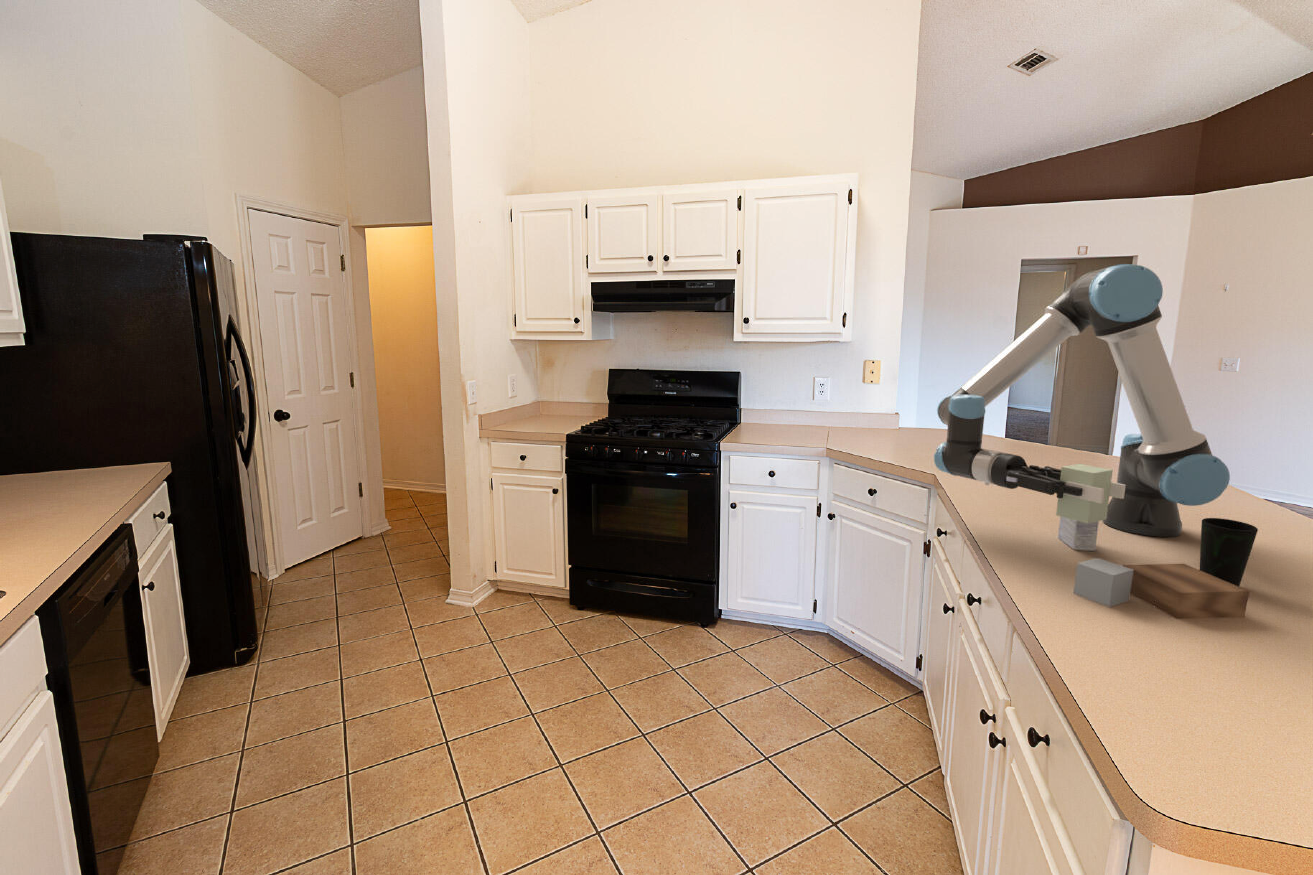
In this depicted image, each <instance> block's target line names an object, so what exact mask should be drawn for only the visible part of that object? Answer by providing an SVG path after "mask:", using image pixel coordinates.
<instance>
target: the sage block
mask: <svg viewBox="0 0 1313 875" xmlns="http://www.w3.org/2000/svg"><path fill="white" fill-rule="evenodd" d="M1060 470H1061V476H1060V481H1063V482H1065V485H1066V482H1067V481H1070V482H1074V483H1079V484H1084V485H1088V486H1093V487H1098V488H1102V489H1104V497H1103V503H1097V502H1093V501H1088V500H1084V499H1080V498H1076V497H1071V496H1067V495H1065V493H1063V498H1057V504H1056V513H1055V515H1056V516H1058V517H1060V516H1061V517H1065V518H1069V519H1072V520H1076V521H1080V522H1084V523H1087V524H1088V523H1092V522H1097V521H1099V522H1100V521H1103V520H1105V519H1106V518H1107V510H1108V505H1109V503H1110V501H1109V500H1110V496H1109V494H1110V486H1111V482H1112V478H1113V477H1112V476H1113V469H1110V468H1104V467H1099V466H1094V465H1088V464H1083V463H1078V464H1071V465H1065V466H1061V469H1060Z"/></svg>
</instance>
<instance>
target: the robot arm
mask: <svg viewBox="0 0 1313 875" xmlns="http://www.w3.org/2000/svg"><path fill="white" fill-rule="evenodd" d="M1163 294H1164V293H1163V284H1162V282H1161V280H1160V277H1159V276H1158V275H1157V273H1155V272H1154V271H1153V270H1151V269H1149V268H1148V267H1145V266H1143V265H1141V264H1140V265H1139V264H1134V263H1133V264H1128V263H1122V264H1116V265H1113V266H1112V265H1111V266H1108V267H1104V268H1100V269H1095V270H1091V271H1088V272H1087V273H1085V274H1083V275H1081V276H1080V277H1078V278H1077V279H1076V280H1075V281H1074V282H1073V283H1071V284H1070V285H1069V286H1068V287H1067V288H1066V289H1065V290H1063V292H1062V293H1061V294H1060V295H1058V296H1057V297H1056V298H1055V299H1054V300H1053V301H1052V302H1051V303H1050V304H1048V305H1047V306H1046V307H1045V309H1044V310H1045V312H1044V314H1043V316H1042V317H1040V318H1039V319H1038V320H1037V321H1036V322H1034V323H1033V324H1032V325H1031V326H1030V327H1029V328H1027V329H1026V331H1024V332H1023V333H1022V334H1021V335H1019V336H1018V337H1017V338H1016V339H1015V340H1013V342H1012V343H1011V344H1009V345H1008V346H1007V347H1006V348H1004V349H1003V351H1001V352H1000V353H999V354H998V355H997V356H995V358H993V359H992V360H991V361H990V362H989V363H987V364H986V365H985V366H984V367H983V368H982V369H980V370H979V371H978V372H977V373H976V374H974V376H973V377H971V378H970V379H969V380H968V381H967V382H966V383H964V384H963V385H962V386H961V387H960V388H959V389H958V390H956V391H955V392H954V393H953V394H952V395H950V396H947V397H943V399H942V400H940V401H939V403H938V405H937V408H936V411H937V415H938V418H939V420H940V421H941V422H942V424H943V425H946V426H947V433H946V442H941V443H940V444H939V445H938V446H937V447H936V451H935V452H934V454H933V462H934V465H935V467H936V468H937V470H939V471H941V472H942V473H943V472H944V473H947V474H950V475H952V476H955V477H961V478H964V479H970V480H974V481H978V482H982V483H984V485H985V486H989V485H993V486H995V485H996V486H997V487H1001V488H1005V489H1009V490H1010V489H1011V490H1015V489H1017V488H1019V487H1020V488H1023V489H1026V490H1031V491H1034V492H1039V493H1042V494H1045V495H1050V496H1054V495H1055V494H1056V498H1057V499H1058V498H1063V493H1065V495H1067V496H1071V497H1076V498H1080V499H1084V500H1088V501H1093V502H1097V503H1103V497H1104V489H1102V488H1098V487H1093V486H1088V485H1084V484H1079V483H1074V482H1070V481H1067V482H1066V485H1065V482H1063V481H1060V476H1061V469H1060V468H1055V467H1052V466H1049V465H1046V466H1044V467H1040V466H1039V465H1033V464H1032V465H1031V464H1030V465H1029V466H1028V465H1027V463H1026V460H1025V458H1024V457H1022V456H1021V455H1017V454H1012V453H1006V452H1002V451H998V450H991V449H986V448H982V443H983V434H984V433H983V432H984V423H985V414H986V407H987V406H988V405H989V404H991V403H992V402H993V401H994V400H996V399H997V397H999V396H1000V395H1002V394H1003V393H1004V392H1005V391H1006V390H1007V389H1008V388H1010V387H1011V386H1012V385H1013V384H1015V383H1016V382H1017V381H1018V380H1020V378H1022V377H1023V376H1024V375H1026V374H1027V373H1028V372H1029V371H1030V370H1032V369H1033V368H1034V367H1035V366H1037V364H1038V363H1040V362H1041V361H1043V359H1044V358H1046V357H1047V356H1048V355H1049V354H1050V353H1052V352H1053V351H1055V349H1056V348H1058V347H1059V346H1060V345H1062V344H1063V343H1064V342H1065V341H1066V340H1068V339H1069V338H1070V337H1072V336H1079V335H1080V334H1081V333H1082V332H1084V331H1085V330H1086V329H1088V328H1090V327H1091V326H1092V328H1093V331H1094V334H1095V337H1096V338H1098V339H1100V340H1103V341H1104V342H1107V344H1108V347H1109V350H1110V354H1111V355H1112V358H1113V361H1114V363H1115V366H1116V369H1117V372H1118V374H1119V377H1120V381H1121V384H1122V386H1123V389H1124V392H1125V394H1126V397H1127V399H1128V402H1129V405H1130V407H1131V410H1132V413H1133V416H1134V418H1135V421H1136V423H1137V427H1138V428H1139V432H1140V434H1139V433H1138V434H1137V433H1129V434H1126V435H1124V438H1123V440H1122V444H1121V446H1120V455H1119V456H1120V457H1119V463H1118V472H1117V479H1116V482H1114V481H1111V486H1110V494H1109V497H1111V499H1110V501H1109V502H1108V510H1107V518H1106V519H1105V520H1102V523H1104V524H1105V525H1107V526H1108V527H1111V528H1114V529H1116V530H1120V531H1123V532H1128V533H1130V534H1131V533H1133V534H1136V535H1142V536H1143V535H1144V536H1148V537H1149V536H1150V537H1160V538H1161V537H1162V538H1170V537H1178V536H1181V534H1182V531H1183V522H1182V521H1181V514H1180V510H1179V507H1178V504H1179V505H1183V506H1186V507H1187V506H1188V507H1197V506H1202V505H1206V504H1209V503H1211V502H1213V501H1215V500H1216V499H1218V498H1219V497H1220V496H1222V494H1223V493H1224V492H1225V490H1227V488H1228V487H1229V484H1230V479H1231V477H1230V470H1229V467H1228V466H1227V465H1226V463H1224V462H1223V461H1222V460H1221V459H1220V458H1219V457H1217V456H1215V455H1213V452H1212V451H1211V450H1212V449H1211V448H1210V445H1209V442H1208V440H1207V437H1206V435H1205V434H1203V433H1201V432H1199V431H1196V430H1194V428H1193V426H1192V422H1191V419H1190V417H1189V414H1188V412H1187V409H1186V407H1185V404H1184V401H1183V398H1182V395H1181V393H1180V390H1179V387H1178V384H1177V382H1176V378H1175V376H1174V373H1173V370H1172V367H1171V365H1170V362H1169V359H1168V357H1167V353H1166V351H1165V349H1164V346H1163V344H1162V340H1161V337H1160V335H1159V332H1158V329H1157V325H1158V324H1159V322H1160V321H1161V319H1162V318H1163V315H1162V313H1161V309H1160V306H1159V304H1160V302H1161V300H1162V298H1163Z"/></svg>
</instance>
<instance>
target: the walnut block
mask: <svg viewBox="0 0 1313 875" xmlns="http://www.w3.org/2000/svg"><path fill="white" fill-rule="evenodd" d="M1122 566H1124V567H1127V568H1130V569H1133V570H1134V571H1133V577H1132V584H1131V590H1130V595H1131V596H1133V597H1135V598H1137V599H1138V600H1141V601H1142V602H1144V603H1147V604H1148V605H1150V606H1152V607H1154V606H1155V607H1154V608H1156V609H1157V610H1159V609H1160V611H1162V612H1163V613H1166V614H1167V615H1170V617H1173V618H1175V619H1177V620H1180V619H1181V620H1182V619H1183V620H1187V619H1189V620H1190V619H1216V618H1217V619H1219V618H1221V619H1222V618H1245V616H1246V612H1247V604H1248V600H1249V595H1250V590H1248V589H1246V588H1243V587H1240V586H1239V587H1238V586H1236V585H1234V584H1231V583H1229V582H1226V581H1224V580H1222V579H1219V578H1217V577H1215V576H1212V575H1210V574H1207V573H1205V572H1203V571H1200V569H1198V568H1196V567H1193V566H1190V565H1188V564H1186V563H1156V564H1155V563H1154V564H1153V563H1151V564H1150V563H1149V564H1147V563H1146V564H1145V563H1144V564H1122Z"/></svg>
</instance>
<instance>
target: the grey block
mask: <svg viewBox="0 0 1313 875" xmlns="http://www.w3.org/2000/svg"><path fill="white" fill-rule="evenodd" d="M1133 571H1134V570H1133V569H1130V568H1127V567H1124V566H1123V565H1121V564H1117V563H1114V562H1112V561H1108V560H1105V559H1102V558H1099V557H1096V558H1095V557H1094V558H1092V559H1088V560H1084V561H1081V562H1077V563H1076V572H1075V579H1074V586H1073V594H1074V595H1076V596H1079V597H1082V598H1084V599H1086V600H1089V601H1092V602H1095V603H1097V604H1100V605H1102V606H1105V607H1107V608H1109V607H1110V608H1111V607H1114V606H1116V605H1119V604H1122V603H1123V604H1124V603H1126V602H1129V601H1130V597H1131V596H1130V595H1131V594H1130V590H1131V584H1132V577H1133Z"/></svg>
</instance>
